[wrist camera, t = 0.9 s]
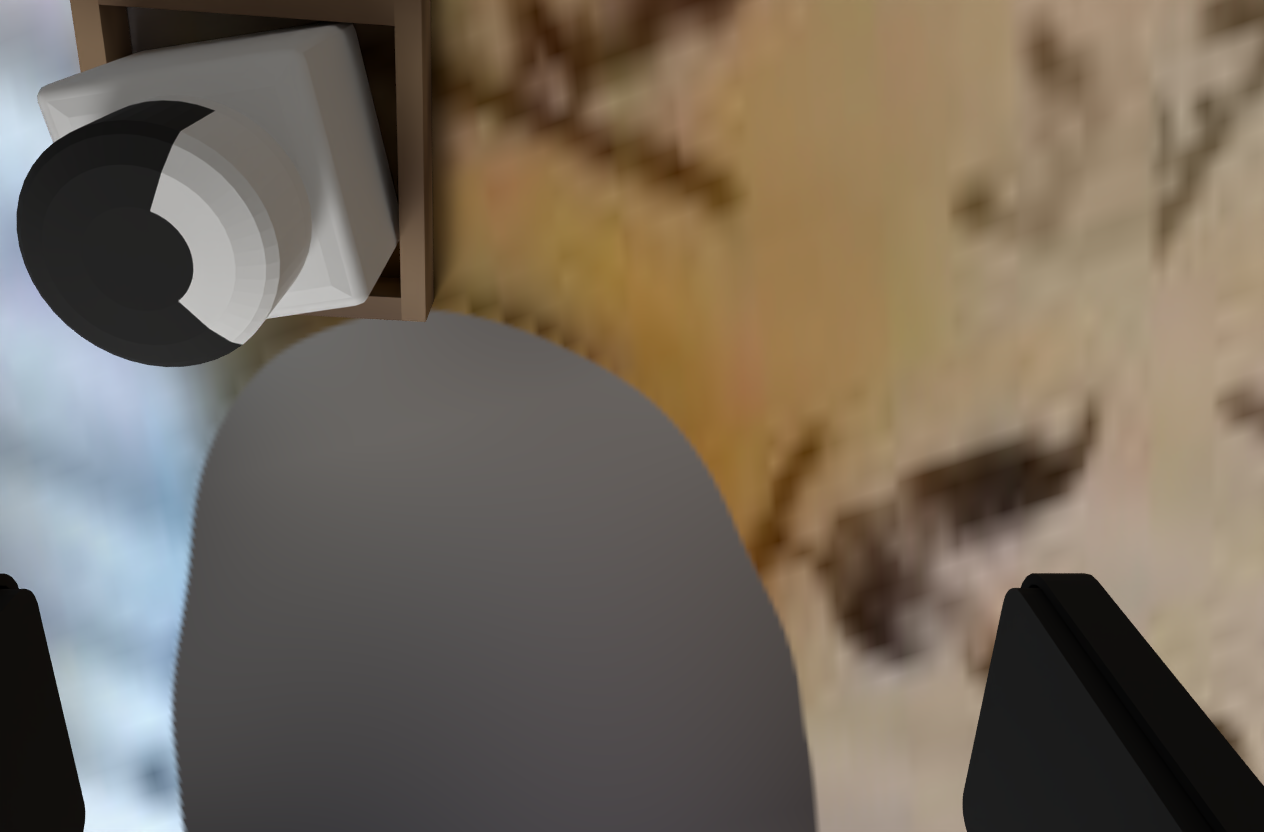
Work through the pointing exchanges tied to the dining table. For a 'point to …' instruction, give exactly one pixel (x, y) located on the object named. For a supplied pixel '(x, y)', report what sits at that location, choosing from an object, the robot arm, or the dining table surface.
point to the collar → (409, 11)
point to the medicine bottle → (209, 192)
